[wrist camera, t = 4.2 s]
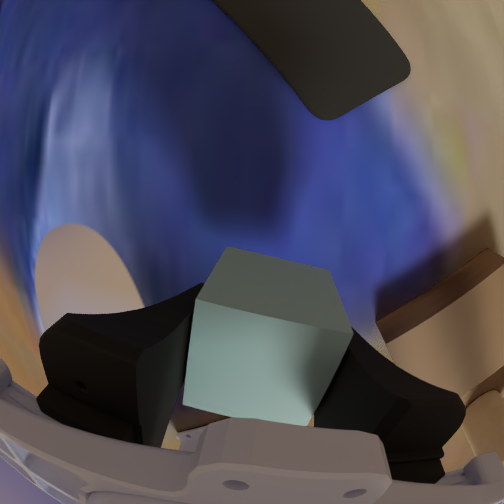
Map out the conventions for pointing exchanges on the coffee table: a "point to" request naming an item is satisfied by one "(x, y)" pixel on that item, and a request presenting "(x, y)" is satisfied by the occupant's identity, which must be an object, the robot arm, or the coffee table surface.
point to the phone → (323, 49)
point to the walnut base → (452, 327)
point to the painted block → (265, 339)
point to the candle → (486, 424)
